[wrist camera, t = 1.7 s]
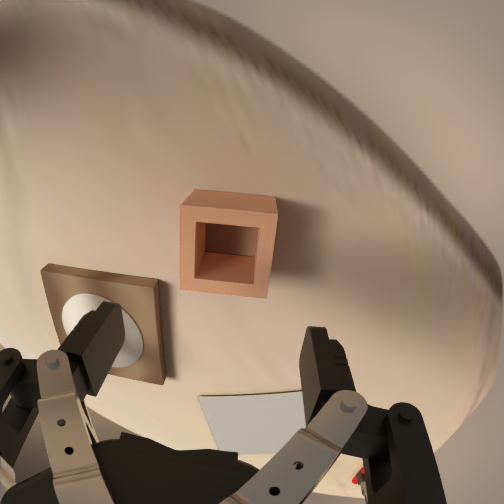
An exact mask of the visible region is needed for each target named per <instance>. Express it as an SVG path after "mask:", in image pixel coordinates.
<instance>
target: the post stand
mask: <svg viewBox="0 0 504 504" xmlns="http://www.w3.org/2000/svg"><path fill="white" fill-rule="evenodd" d="M41 275H42V280H43V284H44V288H45V293H46V297H47V301H48V304H49V308H50V312H51V315H52V319H53V322H54V326H55V329H56V332H57V336H58V339H59V342H60V345H61V344H62V343H63V341H64V340H65V339H66V337H67V336H68V335H69V333H70V332H71V331H72V330H73V328H74V327H75V326H76V324H78V322H79V320H80V319H81V318H82V317H83V315H85V314H87V313H88V312H90V311H91V310H95V311H96V309H97V308H98V307H99V305H100V304H101V303H102V302H103V301H107V302H113V303H119V304H120V305H121V309H122V315H123V322H124V328H125V340H124V344H123V346H122V348H121V350H120V352H119V353H118V355H117V357H116V359H115V361H114V363H113V365H112V367H111V368H110V370H109V372H108V374H111V375H115V376H120V377H124V378H129V379H133V380H138V381H143V382H148V383H154V384H159V385H163V384H164V381H165V378H166V368H165V358H164V349H163V338H162V327H161V314H160V300H159V283H158V279H153V278H145V277H138V276H130V275H123V274H115V273H108V272H101V271H94V270H87V269H80V268H74V267H67V266H61V265H55V264H47V265H46V266H45V267H44V268H43V269H41Z"/></svg>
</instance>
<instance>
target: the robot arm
mask: <svg viewBox="0 0 504 504" xmlns="http://www.w3.org/2000/svg"><path fill="white" fill-rule="evenodd" d="M124 340H125V328H124V322H123V315H122V309H121V305H120V304H119V303H113V302H107V301H103V302H102V303H101V304H100V305H99V307H98V308H97V309H96V311H95V310H91V311H90V312H88V313H87V314H85V315H83V317H82V318H81V319H80V320H79V322H78V324H76V326H75V327H74V328H73V330H72V331H71V332H70V333H69V335H68V336H67V337H66V339H65V340H64V341H63V343H62V344H61V346H60V347H59V348H58V350H50V351H47V352H45V353H43V354H42V355H41V356H40V357H39V358H38V359H23V358H22V356H21V354H20V352H19V351H18V350H17V349H14V348H7V349H3V350H2V351H0V504H303V502H304V501H305V500H306V499H307V498H308V496H309V495H310V494H311V493H312V491H313V490H314V489H315V487H316V486H317V485H318V484H319V482H320V481H321V480H322V478H323V477H324V476H325V475H326V473H327V472H328V471H329V469H330V468H331V467H332V465H333V464H334V462H335V461H336V460H337V458H338V457H339V456H340V454H341V453H342V454H346V455H351V456H355V457H360V458H362V459H363V466H364V474H365V482H366V490H367V499H368V504H447V503H446V498H445V494H444V490H443V486H442V482H441V478H440V474H439V471H438V467H437V463H436V460H435V456H434V453H433V450H432V446H431V443H430V440H429V436H428V433H427V430H426V427H425V424H424V421H423V418H422V415H421V413H420V411H419V410H418V409H417V408H416V407H415V406H413V405H411V404H409V403H404V402H400V403H396V404H394V405H393V406H391V408H390V409H389V410H386V409H382V408H377V407H373V406H370V405H368V404H367V402H366V400H365V399H364V397H363V396H362V395H360V394H359V393H357V392H356V389H355V386H354V382H353V379H352V375H351V372H350V368H349V366H348V361H347V359H346V354H345V351H344V348H343V347H342V345H341V344H340V343H339V342H338V341H337V340H331V339H329V337H328V333H327V330H326V328H325V327H312V326H308V327H307V330H306V334H305V338H304V342H303V346H302V350H301V354H300V361H299V368H300V377H301V386H302V395H303V404H304V414H305V424H306V428H304V429H303V428H301V429H299V430H298V431H297V432H296V433H295V434H294V436H293V437H292V438H291V439H290V440H289V441H288V442H287V443H286V444H285V445H284V446H283V447H282V448H281V449H280V450H279V451H278V452H277V454H276V455H275V456H274V457H273V458H272V459H271V460H270V461H269V462H268V463H267V464H266V465H265V466H264V467H263V468H261V469H260V470H259V469H257V468H256V467H254V466H252V465H250V464H248V463H246V462H243V461H240V460H238V452H230V451H221V450H212V449H201V450H181V451H179V450H174V449H171V448H169V447H167V446H164V445H162V444H160V443H158V442H155V441H153V440H151V439H149V438H145V437H140V436H136V435H132V434H128V433H124V432H122V433H121V436H120V439H111V440H104V441H101V442H99V441H98V438H97V436H96V434H95V431H94V428H93V425H92V422H91V419H90V416H89V413H88V410H87V407H86V403H85V401H84V398H85V396H86V394H88V395H92V396H95V397H96V396H97V394H98V392H99V390H100V388H101V386H102V384H103V382H104V380H105V378H106V376H107V374H108V372H109V370H110V368H111V367H112V365H113V363H114V361H115V359H116V357H117V355H118V353H119V352H120V350H121V348H122V346H123V344H124ZM9 394H10V395H11V396H12V398H11V399H10V401H9V402H8V405H7V406H6V408H5V410H4V411H3V413H2V407H3V404H4V403H5V401H6V399H7V398H8V396H9ZM38 413H39V415H40V421H41V426H42V431H43V435H44V441H45V445H46V449H47V453H48V458H49V461H50V465H51V467H50V468H48V469H46V470H44V471H42V472H40V473H38V474H36V475H34V476H32V477H30V478H28V479H26V480H24V481H22V482H20V483H17V484H16V483H15V474H14V470H13V466H14V464H15V462H16V460H17V457H18V455H19V453H20V450H21V448H22V446H23V444H24V442H25V440H26V438H27V435H28V433H29V431H30V429H31V427H32V425H33V423H34V421H35V419H36V417H37V415H38Z"/></svg>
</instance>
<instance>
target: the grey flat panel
mask: <svg viewBox="0 0 504 504" xmlns="http://www.w3.org/2000/svg"><path fill="white" fill-rule="evenodd" d="M197 398H198V401H199V403H200V406H201V409H202V411H203V414H204V416H205V419H206V421H207V424H208V426H209V429H210V431H211V433H212V436H213V438H214V441H215V443H216V445H217V448H218V450H221V451H230V452H238V454H270V453H277V452H278V451H279V450H280V449H281V448H282V447H283V446H284V445H285V444H286V443H287V442H288V441H289V440H290V439H291V438H292V437H293V436H294V434H295V433H296V432H297V431H298V430H299V429H301V428H303V429H304V428H306V424H305V414H304V404H303V395H302V391H300V392H289V393H277V394H263V395H245V396H197Z"/></svg>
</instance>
